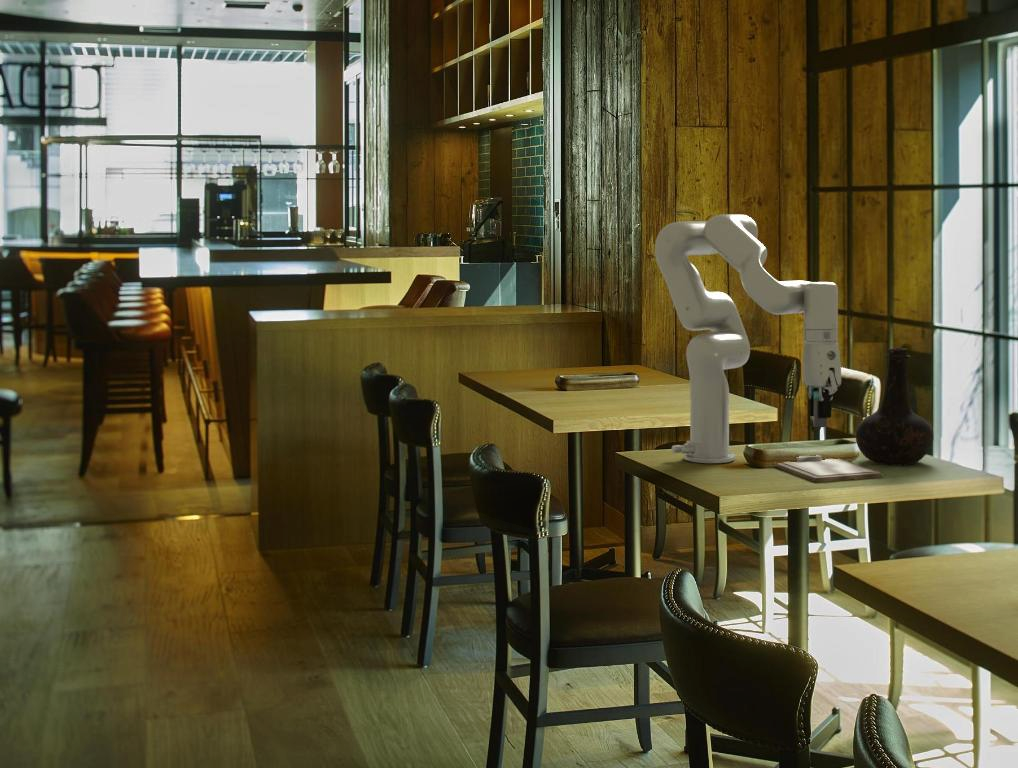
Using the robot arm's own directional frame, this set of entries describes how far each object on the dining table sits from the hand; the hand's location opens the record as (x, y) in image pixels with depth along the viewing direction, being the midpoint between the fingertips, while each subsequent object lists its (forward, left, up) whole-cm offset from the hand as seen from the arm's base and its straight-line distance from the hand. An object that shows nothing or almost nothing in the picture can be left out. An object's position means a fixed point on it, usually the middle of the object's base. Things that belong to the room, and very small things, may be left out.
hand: (820, 416), depth 288 cm
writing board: (+5, +5, -14) cm, 16 cm away
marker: (0, 0, -2) cm, 2 cm away
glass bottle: (+26, +10, -14) cm, 31 cm away
